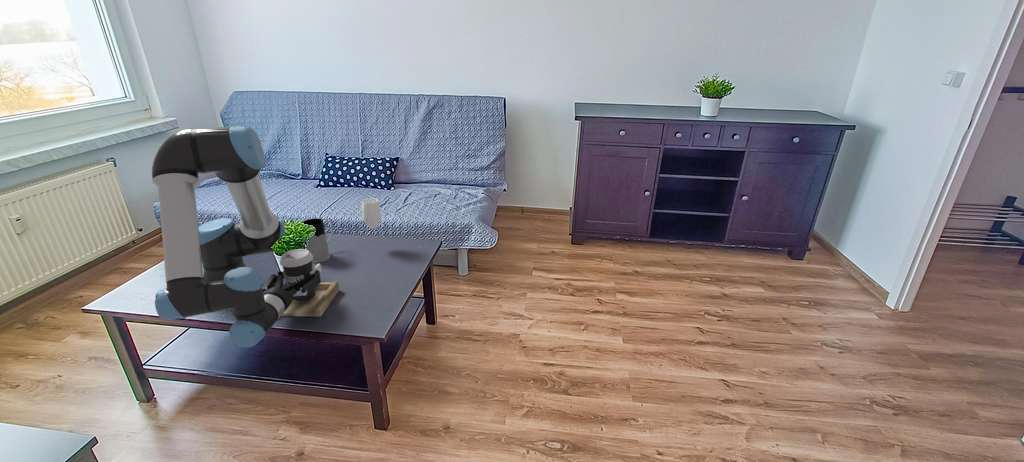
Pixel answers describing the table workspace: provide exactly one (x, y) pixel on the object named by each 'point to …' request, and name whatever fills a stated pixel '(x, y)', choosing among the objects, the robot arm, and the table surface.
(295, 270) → the coffee cup
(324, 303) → the tray
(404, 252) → the table surface
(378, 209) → the cup
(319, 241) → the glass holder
